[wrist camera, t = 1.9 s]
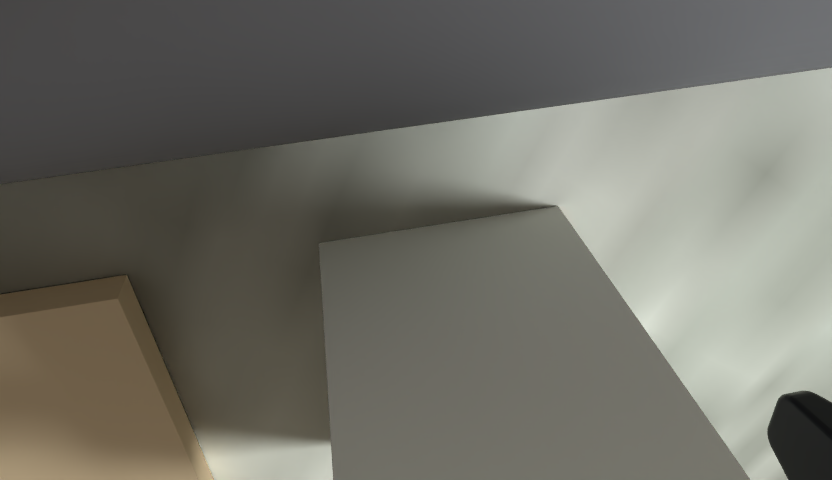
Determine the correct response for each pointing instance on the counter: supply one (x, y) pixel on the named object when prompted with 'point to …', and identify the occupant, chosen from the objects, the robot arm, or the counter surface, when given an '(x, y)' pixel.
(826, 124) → the counter surface
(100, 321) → the mat
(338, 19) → the grey rounded rod
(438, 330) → the white rectangular block
